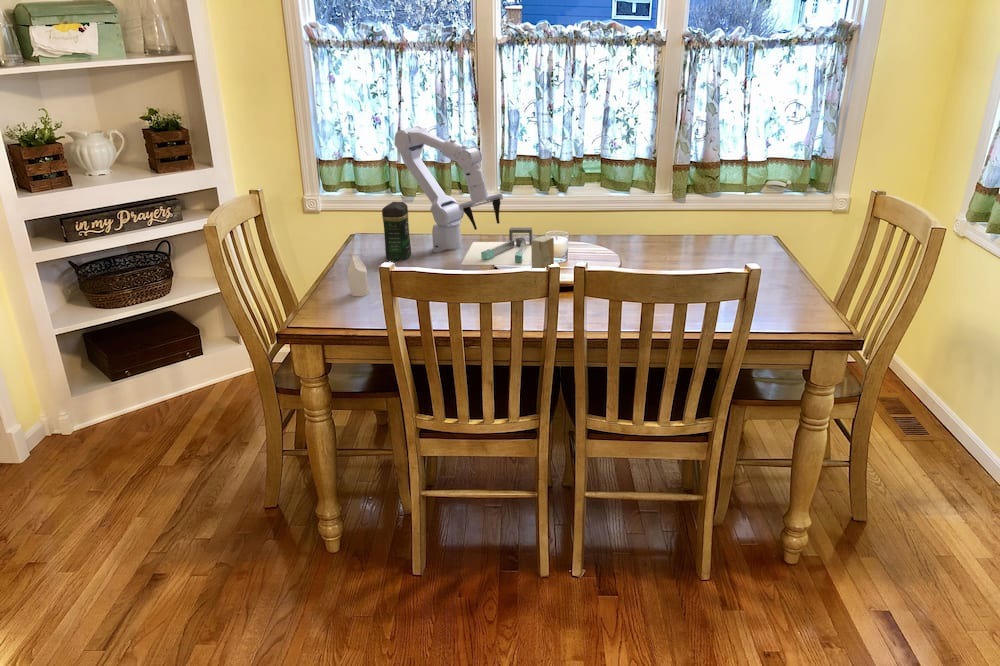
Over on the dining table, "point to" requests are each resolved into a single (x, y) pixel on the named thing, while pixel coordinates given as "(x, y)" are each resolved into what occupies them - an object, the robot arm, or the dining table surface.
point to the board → (500, 259)
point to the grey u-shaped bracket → (520, 230)
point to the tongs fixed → (520, 249)
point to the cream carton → (358, 277)
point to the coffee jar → (396, 231)
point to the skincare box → (542, 251)
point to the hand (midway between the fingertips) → (487, 226)
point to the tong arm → (496, 250)
